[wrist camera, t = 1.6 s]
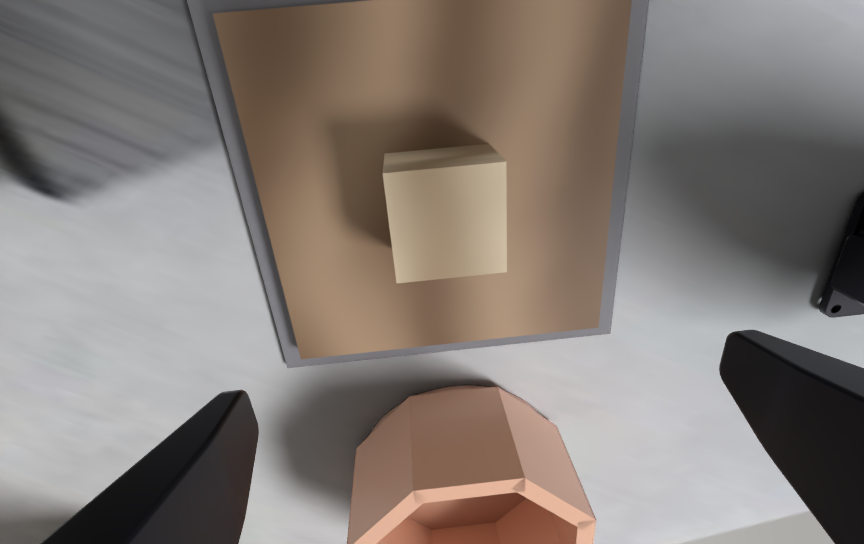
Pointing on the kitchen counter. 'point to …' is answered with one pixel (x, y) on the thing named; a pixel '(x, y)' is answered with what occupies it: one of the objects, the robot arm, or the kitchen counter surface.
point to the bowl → (466, 475)
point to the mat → (202, 8)
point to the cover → (432, 163)
